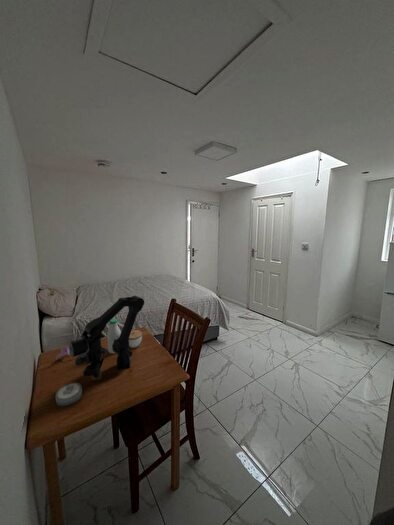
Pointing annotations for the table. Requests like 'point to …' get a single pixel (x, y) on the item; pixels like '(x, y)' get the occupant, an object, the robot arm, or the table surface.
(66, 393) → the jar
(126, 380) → the table surface
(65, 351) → the lily
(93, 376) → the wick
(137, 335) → the lidded jar
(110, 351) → the milk bottle
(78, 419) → the table surface
